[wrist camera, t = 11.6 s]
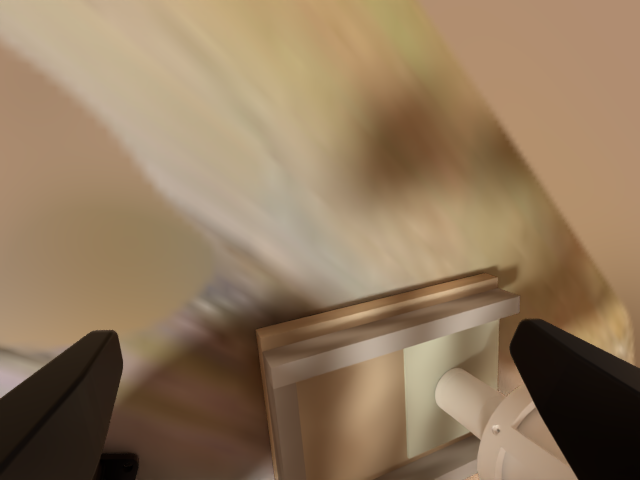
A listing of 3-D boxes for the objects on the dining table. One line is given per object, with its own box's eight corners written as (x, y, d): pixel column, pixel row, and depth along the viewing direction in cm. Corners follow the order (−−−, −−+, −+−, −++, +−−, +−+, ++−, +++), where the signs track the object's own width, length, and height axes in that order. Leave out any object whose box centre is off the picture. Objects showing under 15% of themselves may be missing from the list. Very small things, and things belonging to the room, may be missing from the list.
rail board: (281, 528, 24) (296, 574, 21) (255, 329, 21) (268, 353, 18) (481, 437, 30) (513, 464, 27) (484, 272, 27) (520, 284, 24)
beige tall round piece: (393, 422, 24) (704, 737, 10) (443, 325, 24) (801, 505, 11) (460, 446, 27) (770, 716, 13) (503, 359, 27) (843, 535, 14)
